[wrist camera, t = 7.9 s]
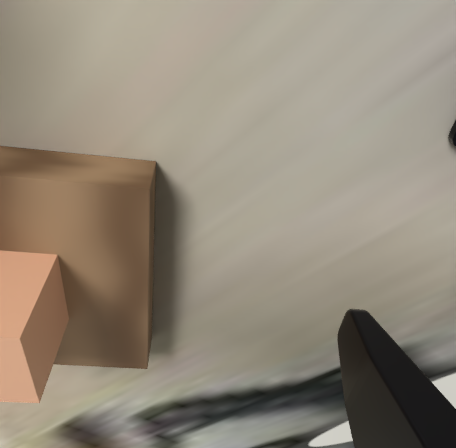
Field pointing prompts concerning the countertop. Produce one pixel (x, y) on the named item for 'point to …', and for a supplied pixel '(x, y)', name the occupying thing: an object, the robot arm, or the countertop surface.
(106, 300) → the base board
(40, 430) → the countertop surface
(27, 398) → the block
